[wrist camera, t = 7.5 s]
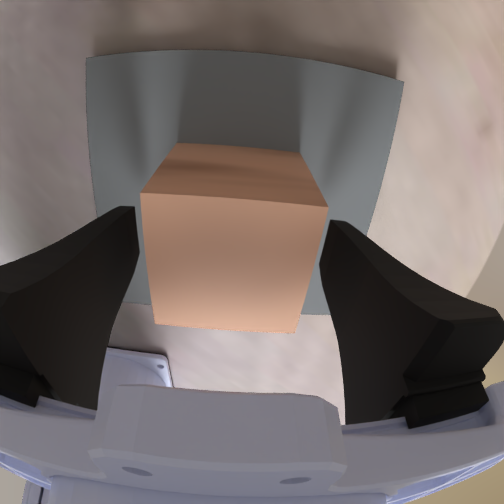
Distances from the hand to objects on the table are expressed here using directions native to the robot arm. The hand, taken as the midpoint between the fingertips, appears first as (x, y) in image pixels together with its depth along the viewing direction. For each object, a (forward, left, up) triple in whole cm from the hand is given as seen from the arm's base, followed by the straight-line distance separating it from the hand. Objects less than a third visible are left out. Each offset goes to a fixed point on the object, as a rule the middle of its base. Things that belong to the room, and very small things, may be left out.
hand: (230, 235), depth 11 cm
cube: (0, 0, -3) cm, 3 cm away
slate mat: (0, 0, -3) cm, 3 cm away
